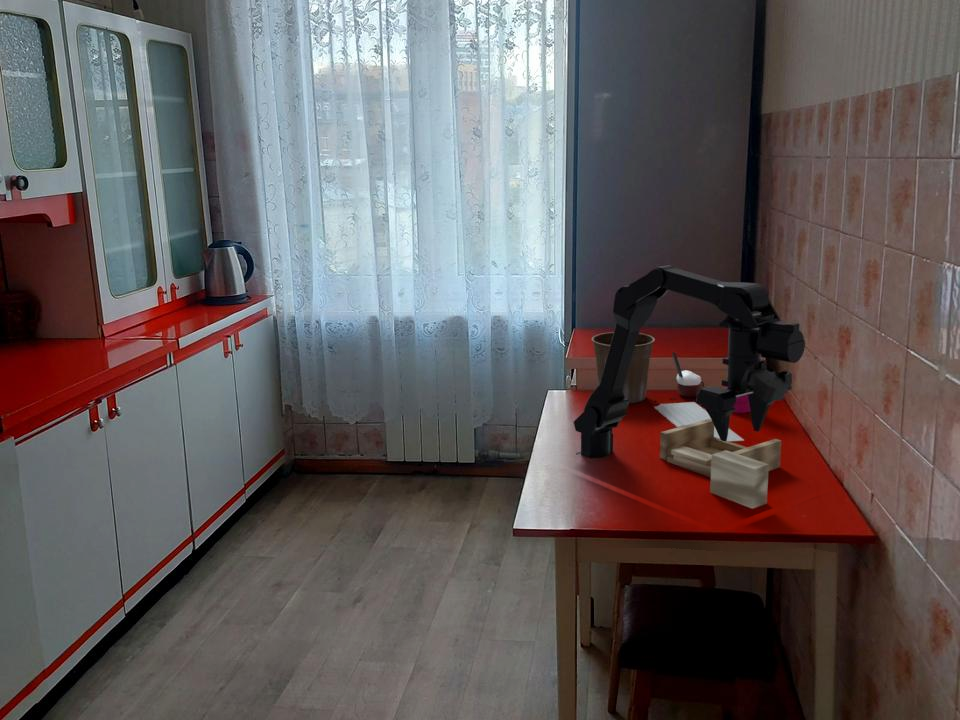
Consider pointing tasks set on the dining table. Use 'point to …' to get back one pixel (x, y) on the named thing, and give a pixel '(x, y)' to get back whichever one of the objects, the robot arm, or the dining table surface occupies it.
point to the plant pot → (637, 368)
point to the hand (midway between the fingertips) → (740, 435)
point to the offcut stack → (691, 460)
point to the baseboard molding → (689, 416)
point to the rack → (716, 443)
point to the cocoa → (687, 381)
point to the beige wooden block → (739, 479)
